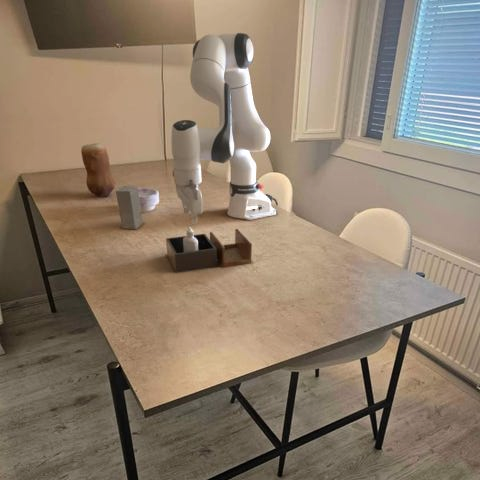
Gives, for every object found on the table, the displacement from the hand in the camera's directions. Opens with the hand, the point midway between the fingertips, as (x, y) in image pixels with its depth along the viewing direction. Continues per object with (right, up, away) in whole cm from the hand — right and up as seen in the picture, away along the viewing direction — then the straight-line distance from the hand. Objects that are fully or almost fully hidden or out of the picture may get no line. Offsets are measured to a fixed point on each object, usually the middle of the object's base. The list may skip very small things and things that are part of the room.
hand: (190, 218), depth 144 cm
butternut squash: (-52, +27, +69) cm, 91 cm away
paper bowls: (-28, +17, +54) cm, 63 cm away
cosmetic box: (-29, +5, +36) cm, 47 cm away
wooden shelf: (+13, -11, +12) cm, 21 cm away
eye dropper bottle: (-1, -13, +8) cm, 15 cm away
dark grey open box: (-1, -13, +9) cm, 16 cm away
